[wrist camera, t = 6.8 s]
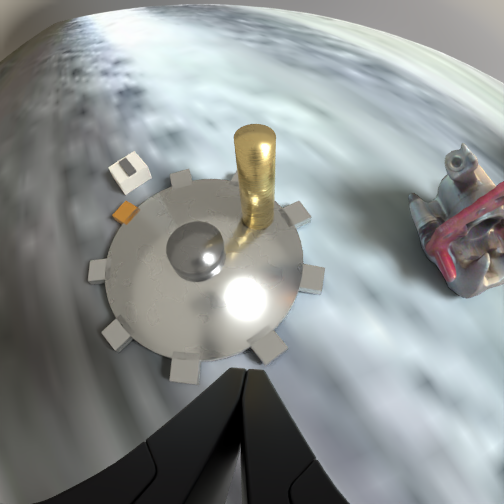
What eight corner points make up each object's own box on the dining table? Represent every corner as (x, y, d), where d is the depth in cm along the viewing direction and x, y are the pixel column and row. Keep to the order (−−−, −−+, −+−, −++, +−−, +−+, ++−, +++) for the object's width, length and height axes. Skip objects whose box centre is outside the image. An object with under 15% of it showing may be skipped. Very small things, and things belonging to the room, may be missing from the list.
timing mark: (152, 177, 28) (146, 163, 27) (125, 195, 28) (118, 181, 26) (138, 162, 30) (133, 148, 28) (113, 178, 29) (107, 165, 27)
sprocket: (367, 254, 23) (405, 177, 16) (198, 439, 17) (152, 452, 10) (206, 146, 30) (191, 70, 22) (59, 267, 24) (0, 208, 16)
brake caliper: (456, 338, 18) (480, 155, 13) (384, 270, 28) (380, 136, 23) (540, 293, 18) (561, 153, 14) (468, 246, 28) (472, 133, 24)
